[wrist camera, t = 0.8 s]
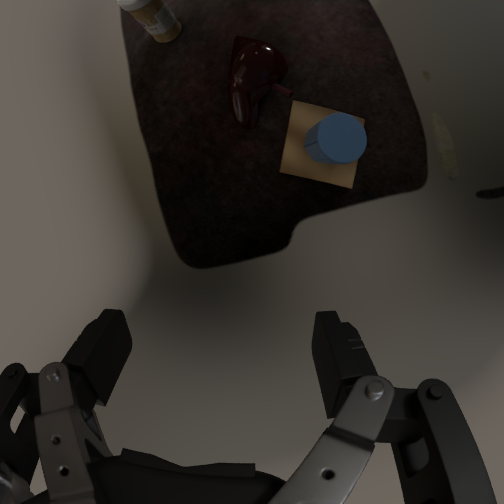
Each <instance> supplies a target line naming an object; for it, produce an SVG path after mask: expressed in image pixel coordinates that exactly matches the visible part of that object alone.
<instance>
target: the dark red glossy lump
mask: <svg viewBox="0 0 504 504" xmlns="http://www.w3.org/2000/svg"><path fill="white" fill-rule="evenodd" d="M287 70H288V66H287V63H286V60H285V58H284V57H283V55H282V54H281V53H280V52H279V51H278V50H277V49H275V48H274V47H273V46H271V45H270V44H268V43H266V42H264V41H260V40H256V39H252V38H247V37H243V36H236V37H235V40H234V44H233V49H232V55H231V64H230V69H229V79H230V82H229V84H228V86H227V93H228V99H229V104H230V108H231V111H232V114H233V116H234V119H235V120H236V122H237V123H238V125H239V126H240V127H242V128H244V129H252V128H253V127H254V126H255V125H256V123H257V120H258V102H259V100H260V99H261V98H262V97H263V96H265V95H266V94H267V93H269V92H270V91H271V90H272V89H274V90H276V91H278V92H279V93H281V94H283V95H285V96H287V97H289V98H291V97H292V96H293V92H292V91H290V90H288V89H286V88H284V87H282V86H281V85H278V84H279V83H280V82H281V80H282V79H283V78H284V76H285V75H286V73H287Z"/></svg>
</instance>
